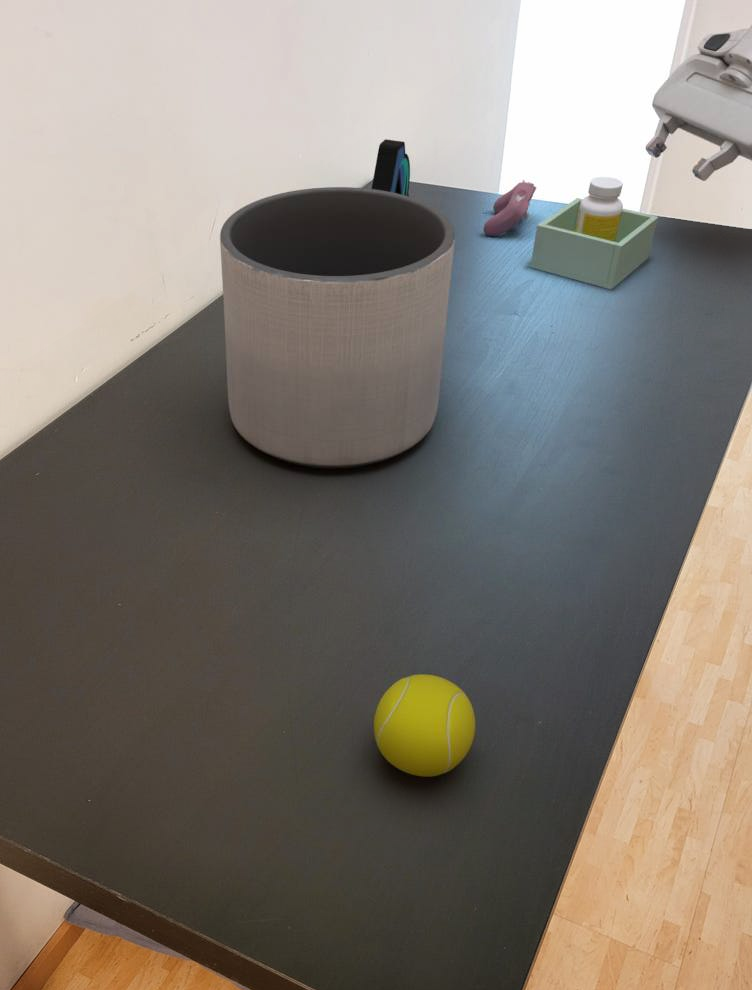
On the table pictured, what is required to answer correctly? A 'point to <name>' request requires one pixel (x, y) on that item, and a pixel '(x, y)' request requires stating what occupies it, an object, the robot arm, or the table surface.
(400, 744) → the tennis ball
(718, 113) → the robot arm
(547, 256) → the bin
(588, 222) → the supplement bottle
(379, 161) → the decorative sign
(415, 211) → the planter
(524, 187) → the mauve lumpy piece
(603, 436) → the table surface
